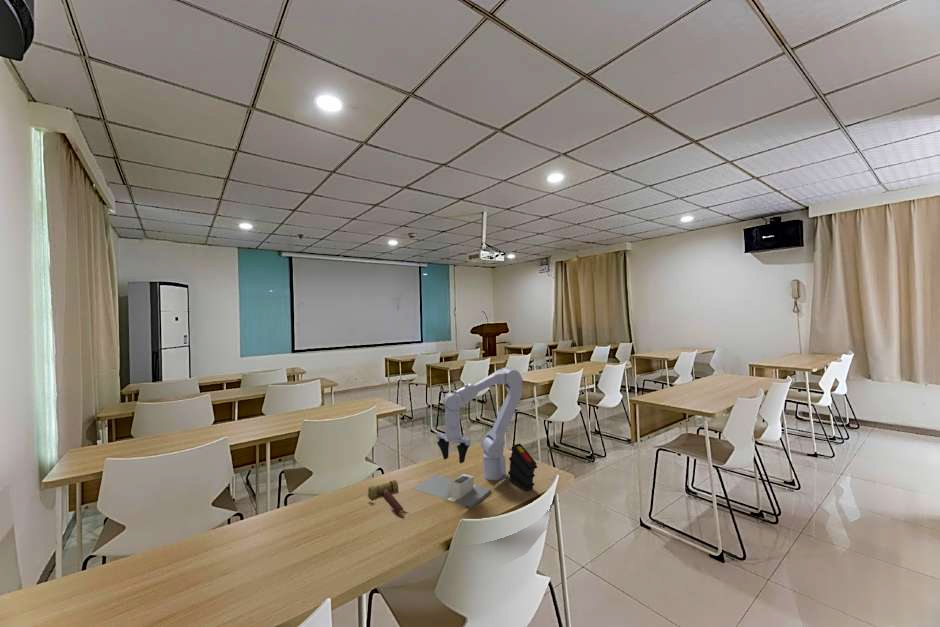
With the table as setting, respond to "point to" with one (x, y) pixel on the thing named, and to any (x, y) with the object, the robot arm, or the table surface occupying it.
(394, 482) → the gavel
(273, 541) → the table surface
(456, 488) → the block
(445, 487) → the board
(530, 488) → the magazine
